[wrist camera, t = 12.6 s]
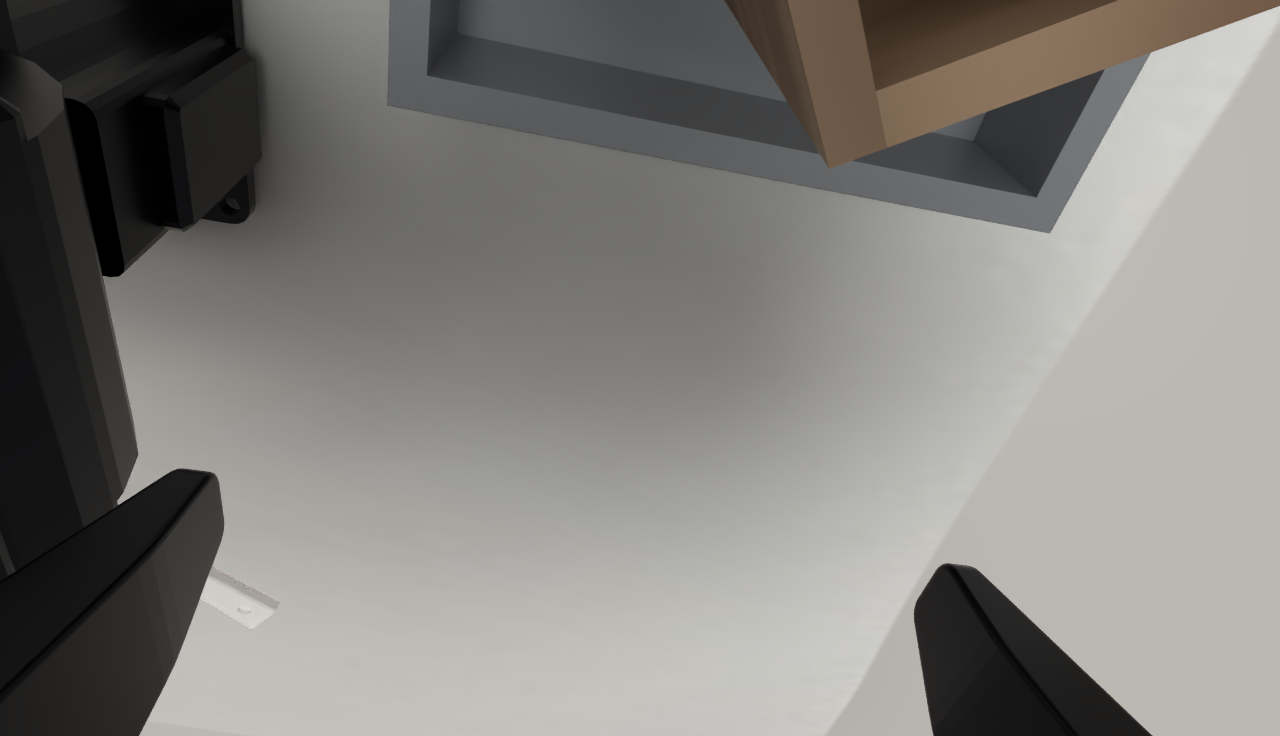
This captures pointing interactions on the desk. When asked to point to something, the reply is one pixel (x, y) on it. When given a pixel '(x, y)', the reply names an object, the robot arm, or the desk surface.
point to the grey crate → (727, 103)
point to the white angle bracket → (237, 599)
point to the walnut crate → (949, 56)
